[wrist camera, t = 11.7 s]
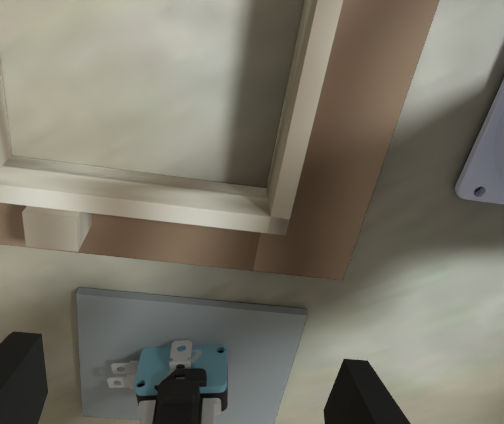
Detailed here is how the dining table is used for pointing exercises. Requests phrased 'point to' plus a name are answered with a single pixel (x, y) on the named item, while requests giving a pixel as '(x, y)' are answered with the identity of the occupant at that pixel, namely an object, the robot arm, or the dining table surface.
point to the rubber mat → (184, 328)
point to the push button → (177, 383)
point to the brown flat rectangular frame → (240, 196)
